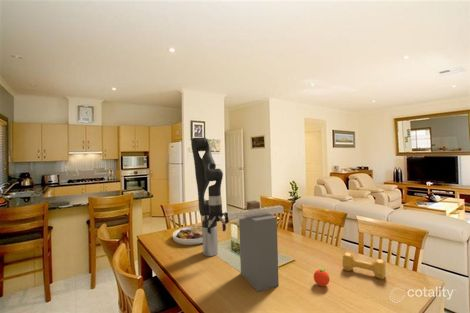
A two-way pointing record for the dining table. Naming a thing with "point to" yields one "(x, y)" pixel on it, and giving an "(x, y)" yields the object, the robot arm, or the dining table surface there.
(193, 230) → the bowl
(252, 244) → the stand
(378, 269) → the dumbbell
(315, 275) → the tomato
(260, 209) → the rod
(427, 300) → the dining table surface
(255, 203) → the walnut block
